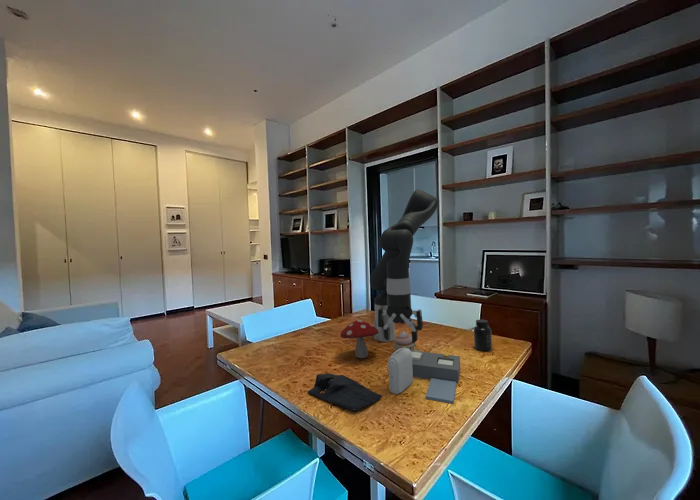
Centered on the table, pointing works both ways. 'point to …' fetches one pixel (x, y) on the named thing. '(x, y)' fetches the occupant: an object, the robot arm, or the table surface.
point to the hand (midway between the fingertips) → (400, 341)
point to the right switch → (445, 362)
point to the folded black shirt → (343, 391)
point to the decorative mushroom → (359, 335)
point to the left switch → (416, 356)
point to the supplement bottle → (482, 336)
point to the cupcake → (404, 341)
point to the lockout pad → (441, 390)
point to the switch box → (436, 367)
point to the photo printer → (400, 370)
